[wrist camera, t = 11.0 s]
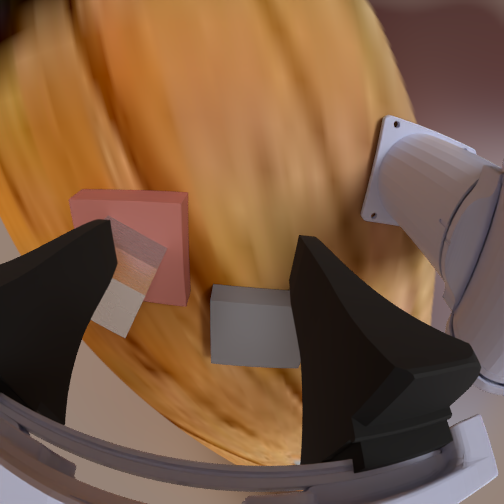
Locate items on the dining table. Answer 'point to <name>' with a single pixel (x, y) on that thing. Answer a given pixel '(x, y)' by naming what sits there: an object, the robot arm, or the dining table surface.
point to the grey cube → (128, 278)
